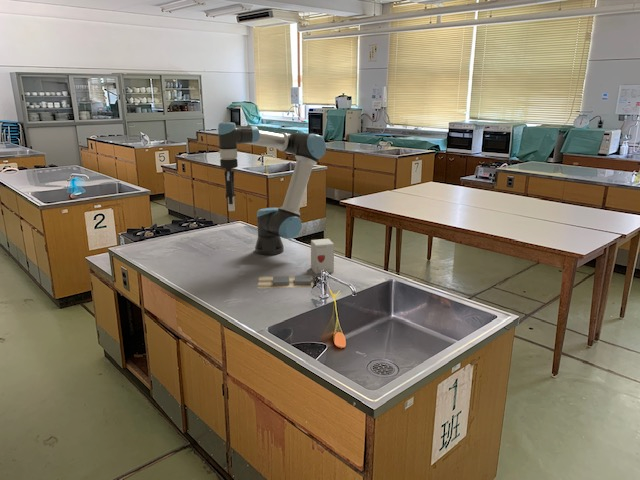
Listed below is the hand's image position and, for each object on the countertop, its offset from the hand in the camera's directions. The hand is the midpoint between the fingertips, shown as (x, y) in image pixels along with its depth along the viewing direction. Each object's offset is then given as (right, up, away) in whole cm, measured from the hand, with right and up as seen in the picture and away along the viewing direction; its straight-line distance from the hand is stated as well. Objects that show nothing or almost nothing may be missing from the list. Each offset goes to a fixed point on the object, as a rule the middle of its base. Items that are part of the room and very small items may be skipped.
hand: (231, 210), depth 223 cm
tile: (+23, -30, -6) cm, 38 cm away
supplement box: (+41, -29, +7) cm, 51 cm away
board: (+25, -33, -7) cm, 42 cm away
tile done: (+33, -32, -8) cm, 46 cm away
